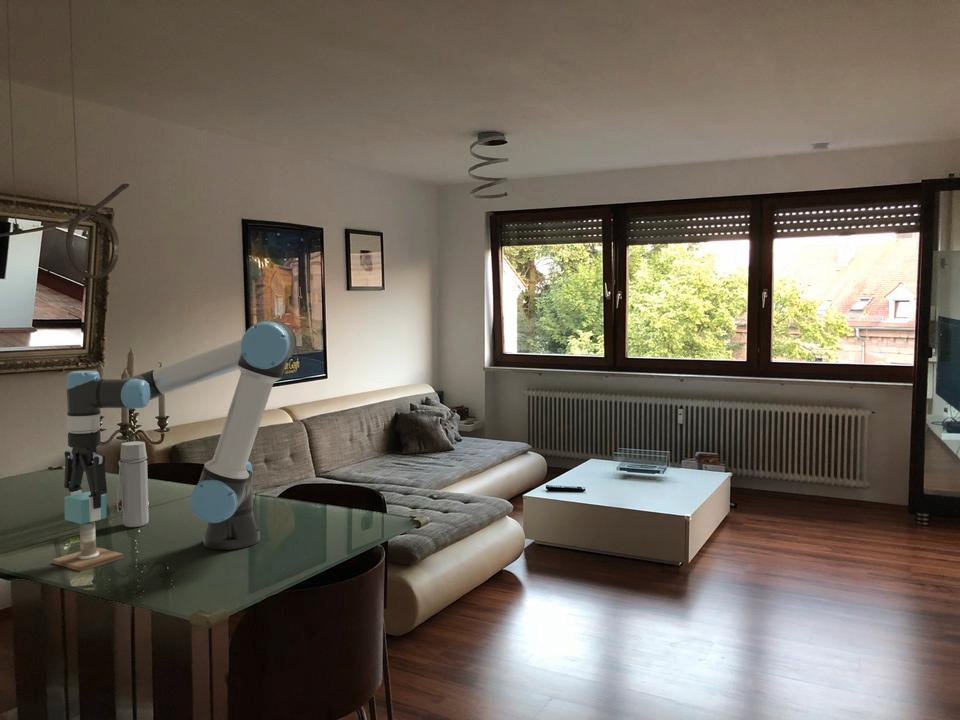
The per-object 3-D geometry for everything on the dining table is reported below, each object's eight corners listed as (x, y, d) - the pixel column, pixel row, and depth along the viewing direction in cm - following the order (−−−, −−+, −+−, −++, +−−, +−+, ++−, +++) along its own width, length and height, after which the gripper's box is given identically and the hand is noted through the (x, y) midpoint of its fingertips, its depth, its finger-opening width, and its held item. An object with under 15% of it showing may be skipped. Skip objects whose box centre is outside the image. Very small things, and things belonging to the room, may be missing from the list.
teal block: (106, 517, 200) (106, 495, 199) (81, 524, 193) (80, 500, 193) (90, 513, 203) (89, 491, 203) (64, 519, 197) (64, 496, 196)
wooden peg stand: (123, 557, 201) (122, 520, 201) (80, 571, 191) (79, 532, 190) (95, 550, 207) (94, 514, 206) (52, 563, 197) (51, 525, 196)
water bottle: (141, 519, 237) (139, 440, 235) (154, 524, 232) (151, 443, 230) (111, 526, 229) (109, 444, 228) (124, 531, 224) (121, 447, 223)
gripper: (121, 432, 195) (123, 520, 197) (74, 425, 205) (76, 509, 206) (94, 436, 188) (96, 527, 190) (47, 429, 198) (49, 515, 200)
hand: (85, 518), depth 198 cm, fingers closed on teal block, 7 cm apart
